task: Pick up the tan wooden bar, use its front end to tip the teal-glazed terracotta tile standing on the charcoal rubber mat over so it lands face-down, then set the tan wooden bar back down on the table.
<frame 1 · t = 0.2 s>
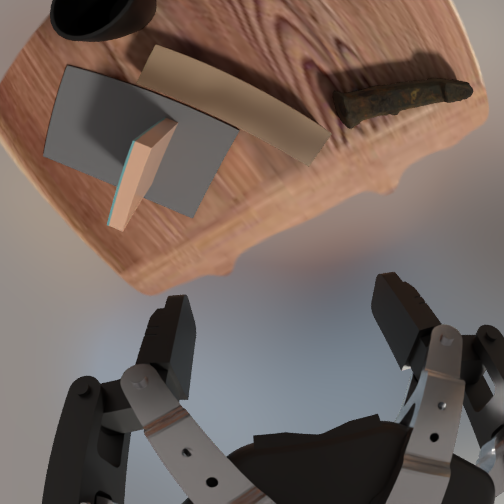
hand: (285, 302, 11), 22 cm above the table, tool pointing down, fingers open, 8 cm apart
tile: (157, 152, 28), resting on rubber mat
hand tool: (401, 87, 25), on the table
tan wooden bar: (236, 97, 26), on the table
mug: (147, 2, 18), on the table
rubber mat: (127, 138, 27), on the table
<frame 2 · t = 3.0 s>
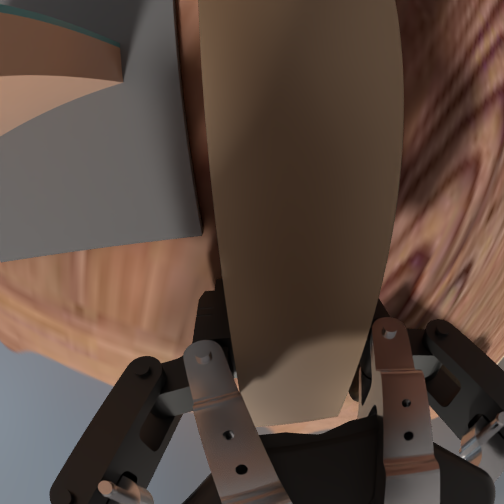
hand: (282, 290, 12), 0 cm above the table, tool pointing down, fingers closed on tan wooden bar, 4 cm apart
tile: (37, 97, 7), resting on rubber mat
hand tool: (432, 359, 18), on the table
tan wooden bar: (279, 171, 10), on the table, touching gripper
rubber mat: (41, 19, 6), on the table
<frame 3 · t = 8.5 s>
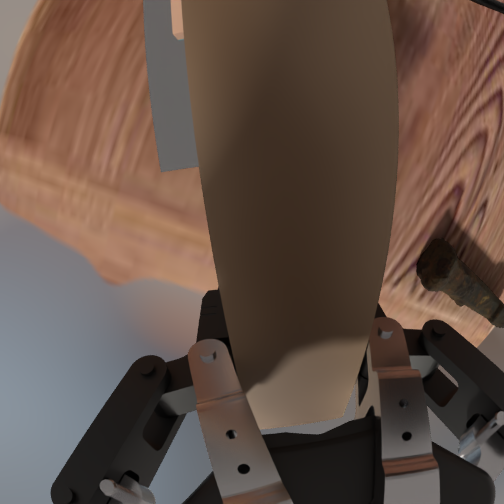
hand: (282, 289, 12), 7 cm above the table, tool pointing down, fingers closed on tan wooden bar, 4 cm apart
tile: (249, 28, 11), point 1 cm above the table, tilted 90°, touching rubber mat
hand tool: (468, 278, 23), on the table
tan wooden bar: (276, 172, 10), point 7 cm above the table, touching gripper
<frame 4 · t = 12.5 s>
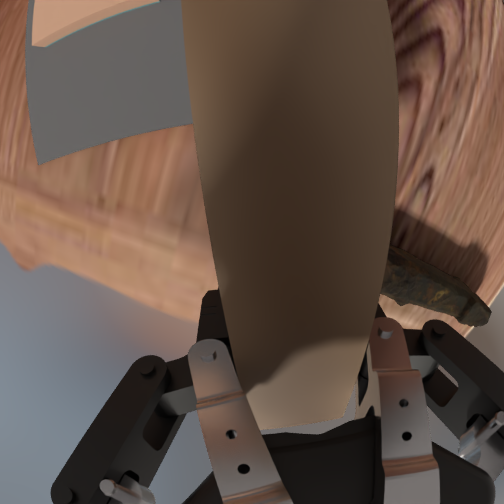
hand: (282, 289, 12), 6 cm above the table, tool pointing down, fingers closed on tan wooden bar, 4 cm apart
tile: (90, 20, 9), point 1 cm above the table, tilted 90°, touching rubber mat
hand tool: (423, 267, 20), on the table
tan wooden bar: (276, 172, 10), point 6 cm above the table, touching gripper
when the fingers open (2 cm above the table, at t = 13.7 s): tan wooden bar drops 2 cm, on the table.
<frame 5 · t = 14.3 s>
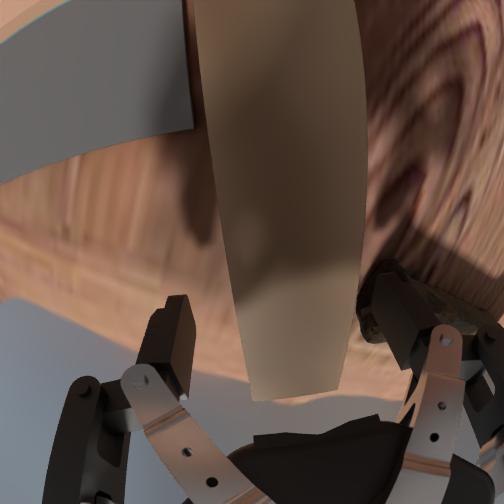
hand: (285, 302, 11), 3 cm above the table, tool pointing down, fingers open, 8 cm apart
tile: (47, 5, 5), point 1 cm above the table, tilted 90°, touching rubber mat
hand tool: (452, 301, 17), on the table
tan wooden bar: (273, 168, 12), on the table
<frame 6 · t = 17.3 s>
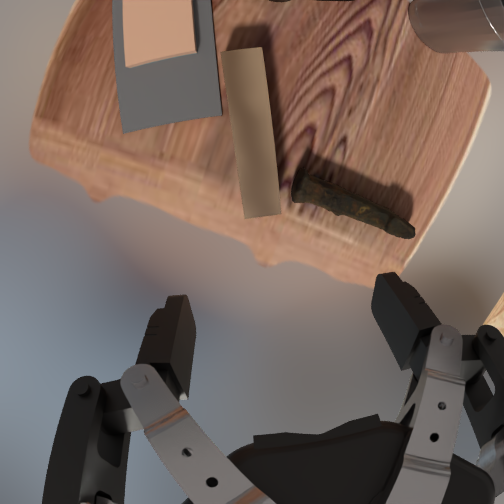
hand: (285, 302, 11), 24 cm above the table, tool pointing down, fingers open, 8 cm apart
tile: (161, 58, 24), point 1 cm above the table, tilted 90°, touching rubber mat
hand tool: (357, 199, 35), on the table
tan wooden bar: (250, 130, 30), on the table
rubber mat: (161, 38, 24), on the table
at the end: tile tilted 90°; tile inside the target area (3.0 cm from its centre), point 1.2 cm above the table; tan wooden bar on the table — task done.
